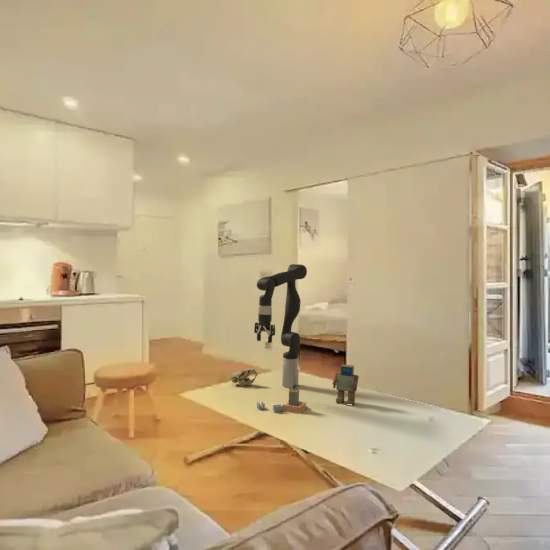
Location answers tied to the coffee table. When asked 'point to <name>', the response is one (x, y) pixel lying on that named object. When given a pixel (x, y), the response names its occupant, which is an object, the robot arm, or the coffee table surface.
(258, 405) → the clip
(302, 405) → the holder
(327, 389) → the coffee table surface
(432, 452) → the coffee table surface
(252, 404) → the coffee table surface
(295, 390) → the plug
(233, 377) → the skull
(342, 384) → the toy
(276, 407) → the clip
